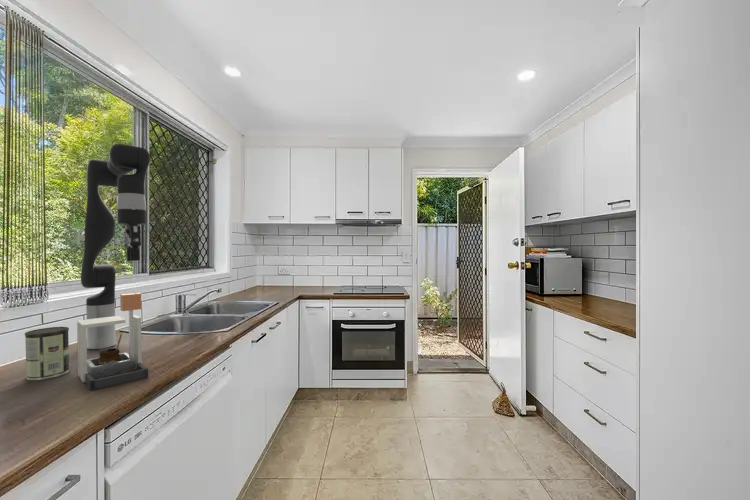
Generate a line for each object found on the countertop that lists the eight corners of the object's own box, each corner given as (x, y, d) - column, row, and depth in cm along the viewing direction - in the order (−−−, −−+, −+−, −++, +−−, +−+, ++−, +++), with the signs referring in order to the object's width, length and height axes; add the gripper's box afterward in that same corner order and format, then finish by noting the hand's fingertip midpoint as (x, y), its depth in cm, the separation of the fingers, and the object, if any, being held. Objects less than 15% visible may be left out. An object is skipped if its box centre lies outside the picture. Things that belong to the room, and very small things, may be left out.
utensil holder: (101, 370, 117) (100, 333, 117) (124, 367, 119) (123, 331, 119) (95, 376, 112) (94, 338, 111) (119, 373, 114) (119, 335, 114)
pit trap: (85, 382, 107) (85, 374, 107) (140, 370, 117) (140, 362, 117) (90, 390, 100) (90, 381, 100) (148, 377, 111) (148, 369, 110)
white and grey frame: (77, 374, 114) (77, 320, 113) (133, 363, 124) (133, 313, 124) (83, 382, 107) (82, 325, 106) (141, 369, 117) (141, 317, 117)
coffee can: (49, 368, 119) (48, 326, 119) (78, 369, 118) (77, 326, 118) (15, 380, 109) (14, 333, 109) (46, 381, 108) (45, 334, 108)
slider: (85, 370, 115) (84, 294, 115) (132, 361, 125) (131, 290, 124) (92, 379, 107) (91, 297, 107) (142, 369, 116) (141, 293, 116)
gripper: (114, 211, 116) (116, 261, 116) (119, 205, 105) (121, 261, 105) (142, 212, 121) (143, 260, 121) (149, 207, 110) (151, 260, 110)
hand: (133, 260), depth 113 cm, fingers open, 8 cm apart
